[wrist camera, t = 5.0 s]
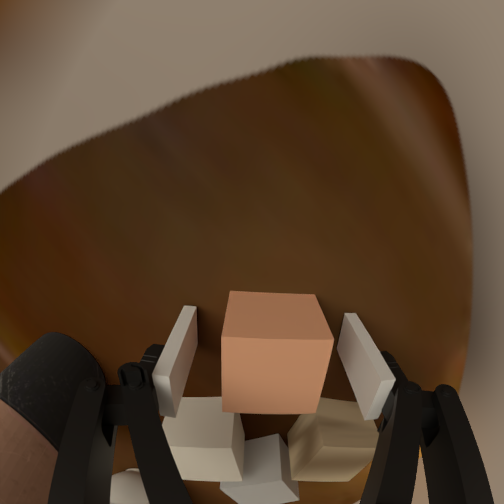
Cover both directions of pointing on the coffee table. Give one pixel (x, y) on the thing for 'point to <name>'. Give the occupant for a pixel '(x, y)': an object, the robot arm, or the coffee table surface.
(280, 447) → the cube grey
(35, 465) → the travel mug
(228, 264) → the coffee table surface
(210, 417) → the cube cream
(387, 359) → the robot arm
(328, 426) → the cube maple
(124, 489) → the lidded jar
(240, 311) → the cube terracotta
